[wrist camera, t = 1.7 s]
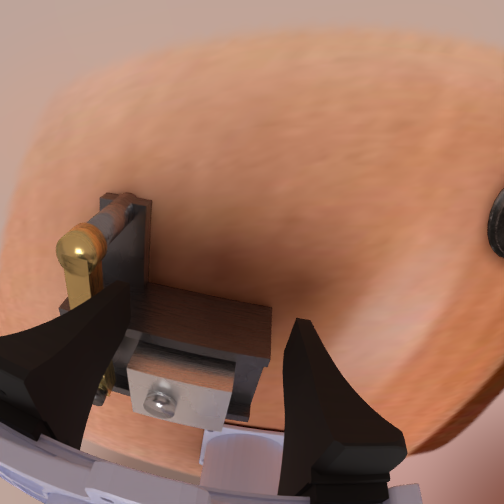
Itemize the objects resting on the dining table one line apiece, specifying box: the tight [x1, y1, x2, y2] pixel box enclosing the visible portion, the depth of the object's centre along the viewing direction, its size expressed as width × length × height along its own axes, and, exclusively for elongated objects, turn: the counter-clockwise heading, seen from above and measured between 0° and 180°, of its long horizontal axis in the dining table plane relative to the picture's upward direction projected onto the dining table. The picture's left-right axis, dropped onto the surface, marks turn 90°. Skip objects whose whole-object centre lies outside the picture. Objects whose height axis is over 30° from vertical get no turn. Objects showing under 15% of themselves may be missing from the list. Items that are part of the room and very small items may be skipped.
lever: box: [56, 223, 116, 406], centre depth 13 cm, size 10×2×2 cm, turn 169°
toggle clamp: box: [59, 193, 272, 422], centre depth 17 cm, size 11×11×4 cm
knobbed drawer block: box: [127, 340, 236, 432], centre depth 16 cm, size 4×5×3 cm
